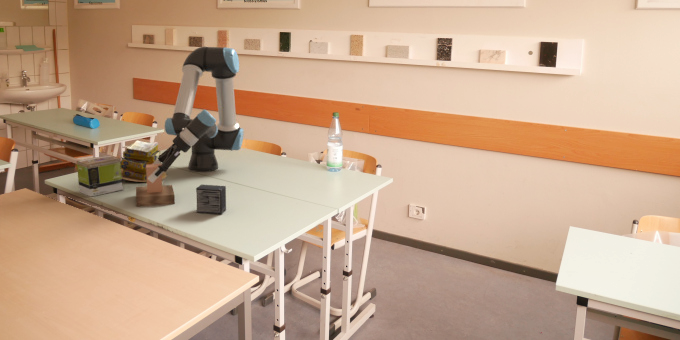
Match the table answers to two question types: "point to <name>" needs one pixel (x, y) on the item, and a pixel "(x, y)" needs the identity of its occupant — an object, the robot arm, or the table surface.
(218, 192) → the small box
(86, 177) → the tea box
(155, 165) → the terracotta block
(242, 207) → the table surface
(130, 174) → the stacked packets on plate
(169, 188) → the walnut plinth
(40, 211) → the table surface
